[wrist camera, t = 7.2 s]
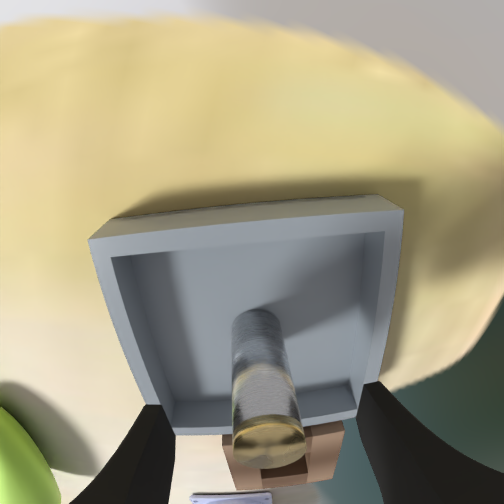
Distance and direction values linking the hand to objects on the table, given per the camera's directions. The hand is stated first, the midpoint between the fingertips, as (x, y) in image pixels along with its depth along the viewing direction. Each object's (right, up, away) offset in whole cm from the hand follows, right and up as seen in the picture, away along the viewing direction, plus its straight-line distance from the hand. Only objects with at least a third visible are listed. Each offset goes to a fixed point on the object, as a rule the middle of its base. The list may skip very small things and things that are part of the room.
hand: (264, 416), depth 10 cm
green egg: (-25, -14, +11) cm, 30 cm away
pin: (0, +2, +5) cm, 5 cm away
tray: (0, +2, +5) cm, 6 cm away
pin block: (+1, -7, +9) cm, 12 cm away
